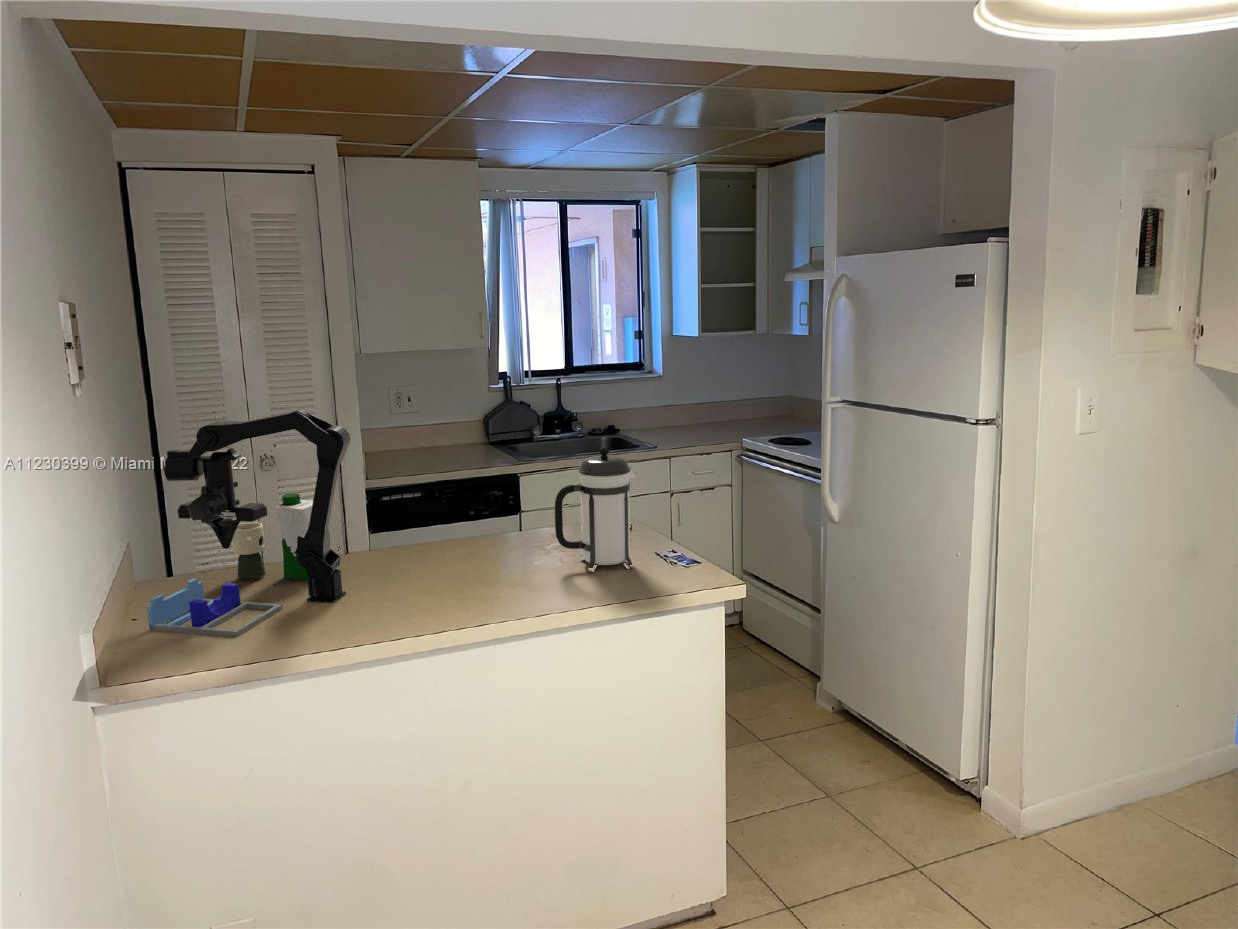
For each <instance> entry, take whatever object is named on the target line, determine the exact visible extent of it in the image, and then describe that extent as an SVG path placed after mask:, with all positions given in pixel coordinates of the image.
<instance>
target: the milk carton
mask: <svg viewBox="0 0 1238 929" xmlns="http://www.w3.org/2000/svg"><path fill="white" fill-rule="evenodd" d="M281 497H282V499H281V500H282V501H281V502H282V503H281V504H278V505H277V506H275V511H276V515H277V517H278V520H279V524H280V526H279V527H280V535H281V546H282V559H283V579H289V578H292V580H300V581H307V579H308V578H309V576H308V574H307V572H306V570H305V568H303V567H302V566H301V565H300V564H299V563H298V561H297V554H298V553H297V554H294V553H295V551H296V549H297V538H298V536H299V535H300V534H301V533H302V532H303V531H304V530H305V529H306V530H308V527H309V522H310V516H311V511H312V505H313V499H312V500H310V499H309V500H308V499H307V500H305V499H301V496H300V494H299V493H286V494H283V495H282V496H281Z"/></svg>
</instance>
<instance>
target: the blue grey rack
mask: <svg viewBox="0 0 1238 929" xmlns="http://www.w3.org/2000/svg"><path fill="white" fill-rule="evenodd" d="M204 592H205V591H204V584H203V581H199V579H198V578H191V579H190V580H187V581H186V587H185V588H183V589H180V590H178V591H177V592H175V593H173V594H171V595H168V596H166V597H165V598H164V595H163V594H162V595H159V594H158V595H156V596H154V597H152V598H150V605H148V606H147V605H146V612H147V619H148V620H147V621H148V627H149V630H150V631H160V630H166V631H165V632H173V633H174V632H177V633H186V634H199V635H200V634H202V635H213V636H214V635H215V636H227V637H239V636H240V635H242V634H244V633H245V632H247V631H249V630H250V629H252V628H253V627H255V626H256V625H259V624H261V623H262V622H263V621H265V620H267V619H268V618H270V617H271V616H274V615H275V614H277V613H278V612H280V611H282V610H283V609H284V608H283V604H281V603H270V602H269V603H268V602H267V603H265V602H256V601H255V602H254V601H253V602H252V601H242V600H240V604H241V605H239V606H238V607H236V608H234V609H232V610H231V611H229V612H227V613H225V614H223V615H222V616H220V617H218V618H216V619H214V620H213V621H211V622H209V623H207V624H206V625H204V626H202V627H194V626H192V625H191V626H190V625H182V623H183V624H185V623H187V622H188V621H190V620H191V613H190V611H189V610H190V604H189V602H190V601H192V600H194V599H195V600H207V604H208V607H210V606H211V605H212V603H213V601H214V599H213V598H212V599H210V598H209V599H208V598H205V593H204ZM244 609H245V610H247V609H256V610H266V611H264V612H263V613H261V614H259V615H258V616H256V617H255V618H252V619H251V620H250V621H248V622H246V623H244V624H243V625H241V626H239V627H237V628H235V629H229V628H215V627H217V626H219V625H221V624H222V623H224V622H226V621H228V620H229V619H231V618H233V617H235V616H236V615H238V614H240V613H241V611H242V612H243V611H245V610H244ZM268 609H269V610H268ZM188 611H189V612H188ZM184 613H185V614H184ZM237 613H238V614H237ZM182 614H183V615H182ZM178 616H179V617H178ZM177 617H178V618H177ZM175 618H176V619H175ZM172 619H174V620H172ZM189 619H190V620H189ZM227 619H228V620H227ZM171 620H172V621H171ZM169 621H170V623H169ZM167 622H168V623H167ZM164 623H166V624H164ZM180 624H181V625H180ZM213 627H214V628H213Z"/></svg>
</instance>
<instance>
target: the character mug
mask: <svg viewBox="0 0 1238 929" xmlns="http://www.w3.org/2000/svg"><path fill="white" fill-rule="evenodd" d="M265 545H266V544H265V537H264V527H263V524H262V523H261V522H243V523H239V525H238V527H237V529H236V531H235V534H234V536H233V539H232V542H231V546H232V551H233V554H235V555H238V557H237V559H238V560H237V578H238V579H251V580H254V578H255V579H257V578H262V577H263V576H265V575H266V572H265V571H266V570H265V565H264V562H263V557H262V554H261V552H262V551H264V550H265Z"/></svg>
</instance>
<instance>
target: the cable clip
mask: <svg viewBox="0 0 1238 929" xmlns="http://www.w3.org/2000/svg"><path fill="white" fill-rule="evenodd" d="M213 600H214V601H213V603H212V605H211V606H210V607H208V604H207V600H195V599H194V600H192V601H190V602H189V604H190V611H189V613H191V619H190V621H191V626H194V627H202V626H204V625H206V624H207V623H209V622H211V621H213V620H214V619H216V618H218V617H220V616H222V615H223V614H225V613H227V612H229V611H231V610H232V609H234V608H236V607H238V606H239V605H241V604H240V601H241V595H240V586H239V583H233V582H232V583H230V582H226V583H224V584H222V585H221V596H218V597H216V598H215V599H213Z"/></svg>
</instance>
